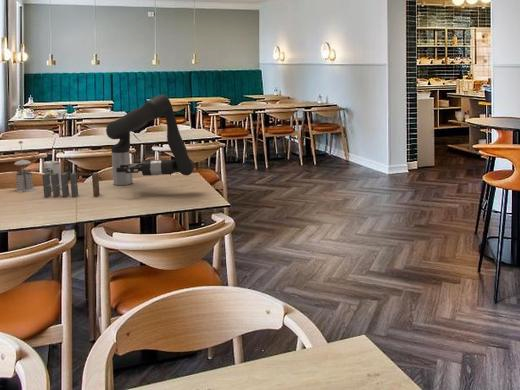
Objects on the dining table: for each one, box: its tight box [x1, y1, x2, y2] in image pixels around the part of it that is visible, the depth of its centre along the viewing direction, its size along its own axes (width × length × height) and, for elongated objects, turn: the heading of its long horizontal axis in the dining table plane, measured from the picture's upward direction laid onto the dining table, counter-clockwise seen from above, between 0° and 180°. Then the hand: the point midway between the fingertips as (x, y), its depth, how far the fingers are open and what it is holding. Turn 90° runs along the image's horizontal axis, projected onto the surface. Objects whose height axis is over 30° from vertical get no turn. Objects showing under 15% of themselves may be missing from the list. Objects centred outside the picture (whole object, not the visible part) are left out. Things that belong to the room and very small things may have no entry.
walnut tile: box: [91, 171, 100, 198], centre depth 271 cm, size 2×5×11 cm, turn 3°
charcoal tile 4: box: [52, 173, 61, 198], centre depth 270 cm, size 2×5×11 cm, turn 3°
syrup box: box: [43, 160, 62, 192], centre depth 285 cm, size 6×6×14 cm
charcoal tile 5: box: [41, 172, 52, 198], centre depth 270 cm, size 2×5×11 cm, turn 3°
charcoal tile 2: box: [69, 172, 79, 198], centre depth 270 cm, size 2×5×11 cm, turn 3°
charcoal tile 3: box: [61, 172, 70, 198], centre depth 270 cm, size 2×5×11 cm, turn 3°
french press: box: [13, 140, 36, 192], centre depth 284 cm, size 10×12×25 cm
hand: (118, 168), depth 270 cm, fingers open, 8 cm apart
